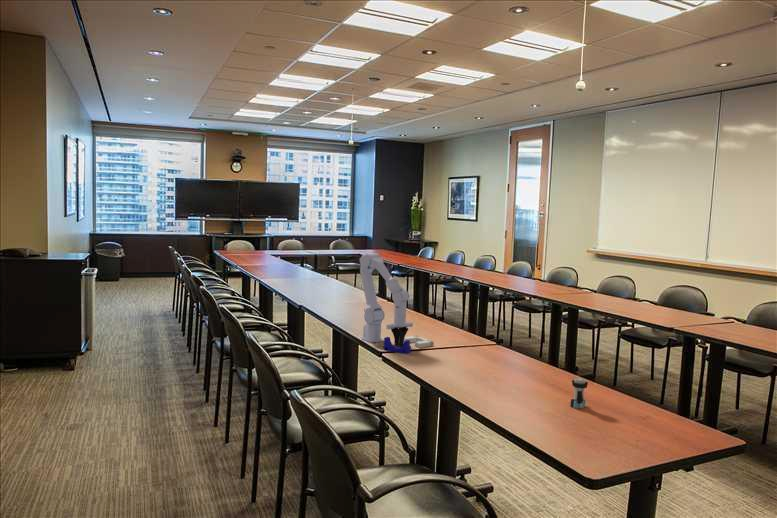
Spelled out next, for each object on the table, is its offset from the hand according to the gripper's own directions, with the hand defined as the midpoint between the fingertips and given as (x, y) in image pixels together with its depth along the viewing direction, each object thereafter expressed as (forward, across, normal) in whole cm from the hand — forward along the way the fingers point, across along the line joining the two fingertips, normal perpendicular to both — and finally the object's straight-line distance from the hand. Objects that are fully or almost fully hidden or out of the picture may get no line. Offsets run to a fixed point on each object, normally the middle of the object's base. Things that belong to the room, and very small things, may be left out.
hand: (399, 342), depth 269 cm
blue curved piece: (+2, -6, -7) cm, 10 cm away
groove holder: (+2, +11, 0) cm, 12 cm away
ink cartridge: (+2, 0, 0) cm, 2 cm away
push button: (+2, +8, -98) cm, 98 cm away
